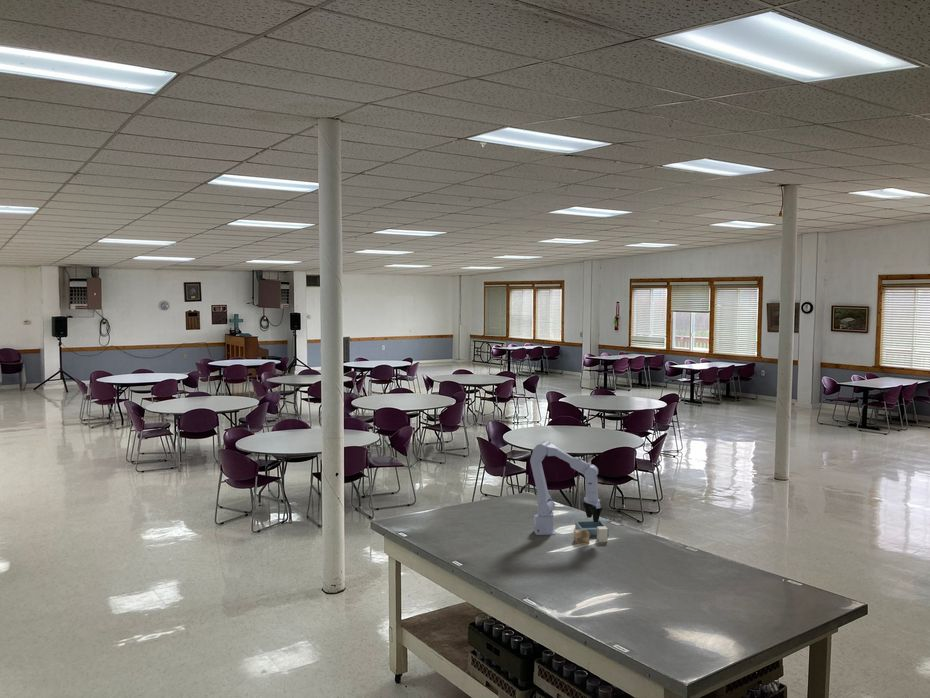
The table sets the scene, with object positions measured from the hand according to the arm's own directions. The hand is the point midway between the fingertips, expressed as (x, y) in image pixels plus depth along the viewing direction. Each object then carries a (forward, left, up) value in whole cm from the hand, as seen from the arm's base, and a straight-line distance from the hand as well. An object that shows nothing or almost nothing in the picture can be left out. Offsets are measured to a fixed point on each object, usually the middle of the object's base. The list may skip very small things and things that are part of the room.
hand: (592, 519), depth 320 cm
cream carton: (+4, -3, -9) cm, 10 cm away
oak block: (-6, -4, -9) cm, 12 cm away
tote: (+2, +9, -9) cm, 12 cm away
